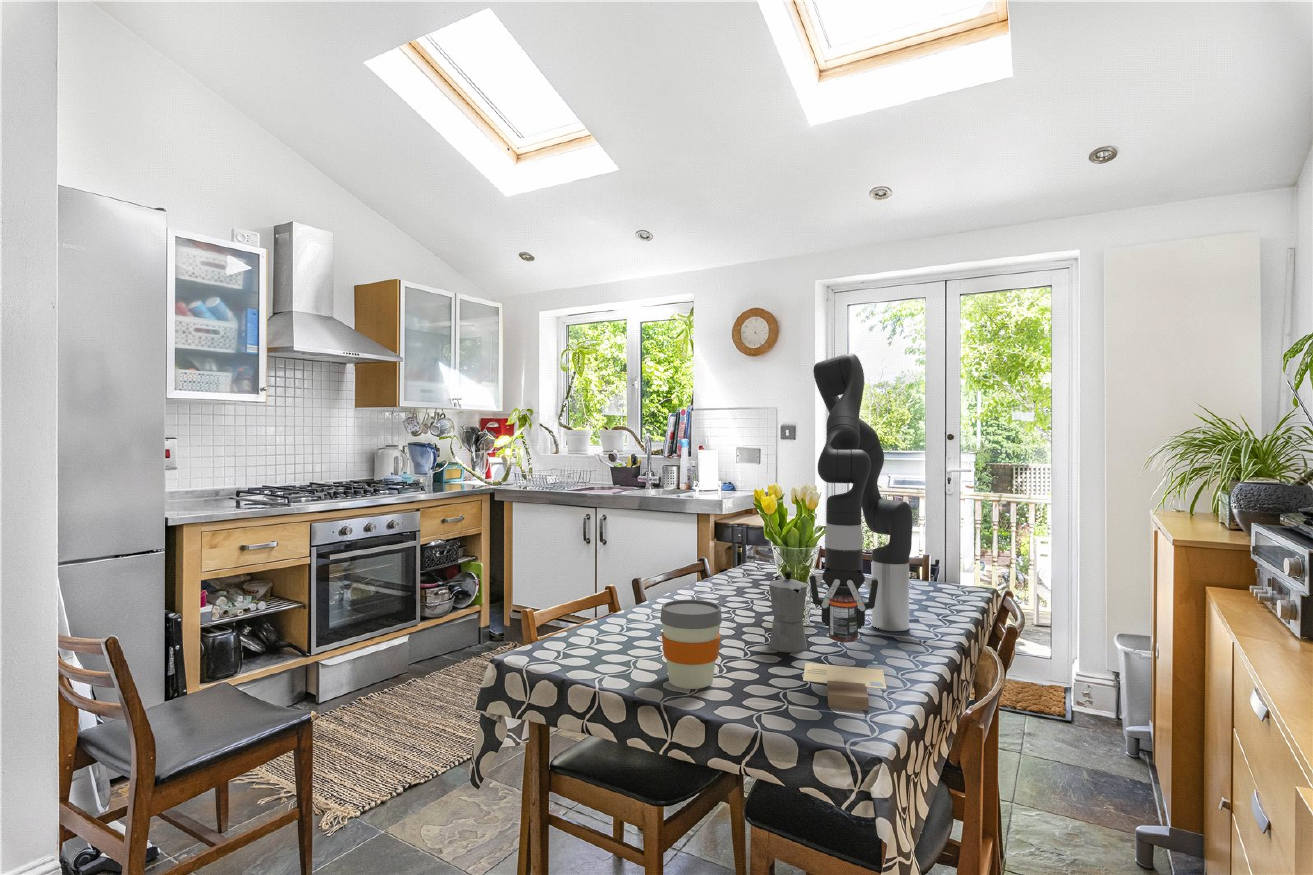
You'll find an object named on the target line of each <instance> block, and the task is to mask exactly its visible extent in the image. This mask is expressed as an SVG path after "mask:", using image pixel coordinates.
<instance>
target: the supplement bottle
mask: <svg viewBox="0 0 1313 875" xmlns="http://www.w3.org/2000/svg"><path fill="white" fill-rule="evenodd" d="M828 608H829V614H828V626H827V628H828V638H829V639H831V640H832V641H834V642H837V643H845V644H846V643H853V642H855V641H857V640H858V638H859V629H858V609H859V607H858V605H857V601H856V600H855V599H854V597H853V595H852V594H851V591H850V589H849V587H848V586H838V588H837V590H836V591H835V593H834V595H833V597H832V598H831V599H830V600H829V604H828Z"/></svg>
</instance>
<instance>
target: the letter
mask: <svg viewBox="0 0 1313 875" xmlns="http://www.w3.org/2000/svg"><path fill="white" fill-rule="evenodd" d="M802 681H803V682H810V683H811V682H813V683H822V684H823V683H825V684H827V681H840V682H853V683H865V686H866V688H870V689H871V688H872V689H873V688H874V689H882V690H887V684H886V680H885V674H884V670H883V669H877V668H867V667H856V666H847V665H846V666H844V665H835V664H833V665H832V664H825V663H823V664H822V663H813V662H812V663H811V662H805V665H804V671H803V678H802Z"/></svg>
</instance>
